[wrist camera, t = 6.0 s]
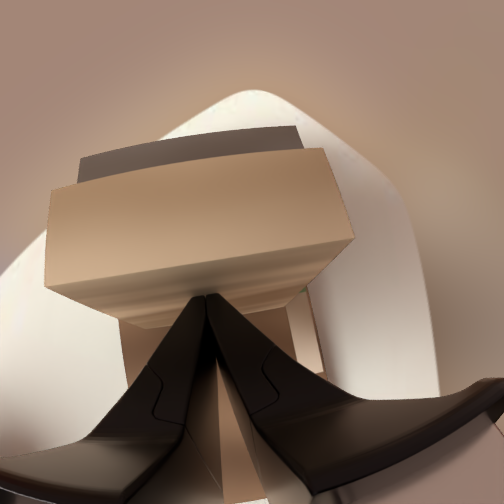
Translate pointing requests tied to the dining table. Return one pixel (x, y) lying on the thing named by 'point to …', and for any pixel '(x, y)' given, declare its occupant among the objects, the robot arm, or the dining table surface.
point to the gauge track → (268, 321)
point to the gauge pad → (196, 234)
